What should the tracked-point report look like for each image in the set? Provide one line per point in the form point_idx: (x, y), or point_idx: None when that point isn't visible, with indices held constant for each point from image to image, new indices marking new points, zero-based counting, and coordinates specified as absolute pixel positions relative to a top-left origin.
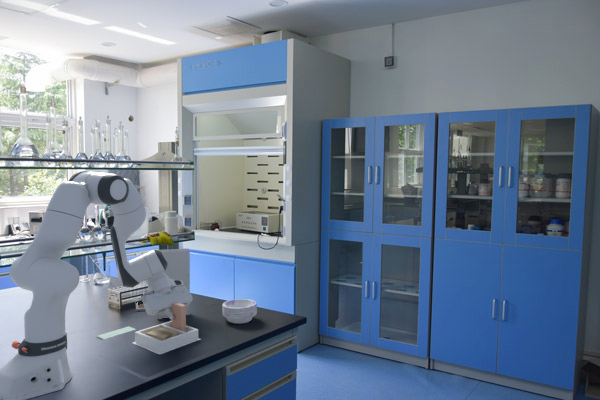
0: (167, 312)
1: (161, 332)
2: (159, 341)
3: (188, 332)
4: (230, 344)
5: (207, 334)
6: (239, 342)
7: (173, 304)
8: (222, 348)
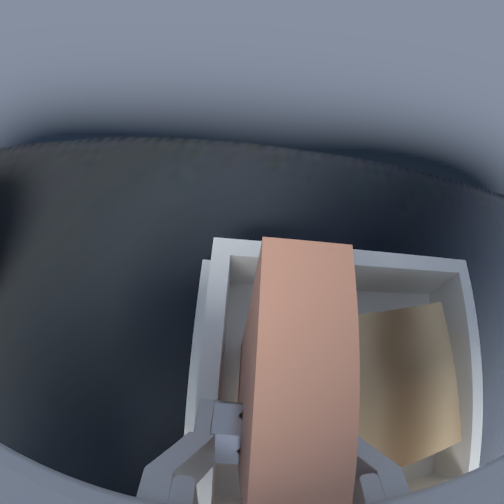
0: (384, 466)
1: (410, 387)
2: (467, 273)
3: None
4: (164, 154)
5: (105, 308)
6: (132, 145)
7: (349, 474)
8: (214, 152)
